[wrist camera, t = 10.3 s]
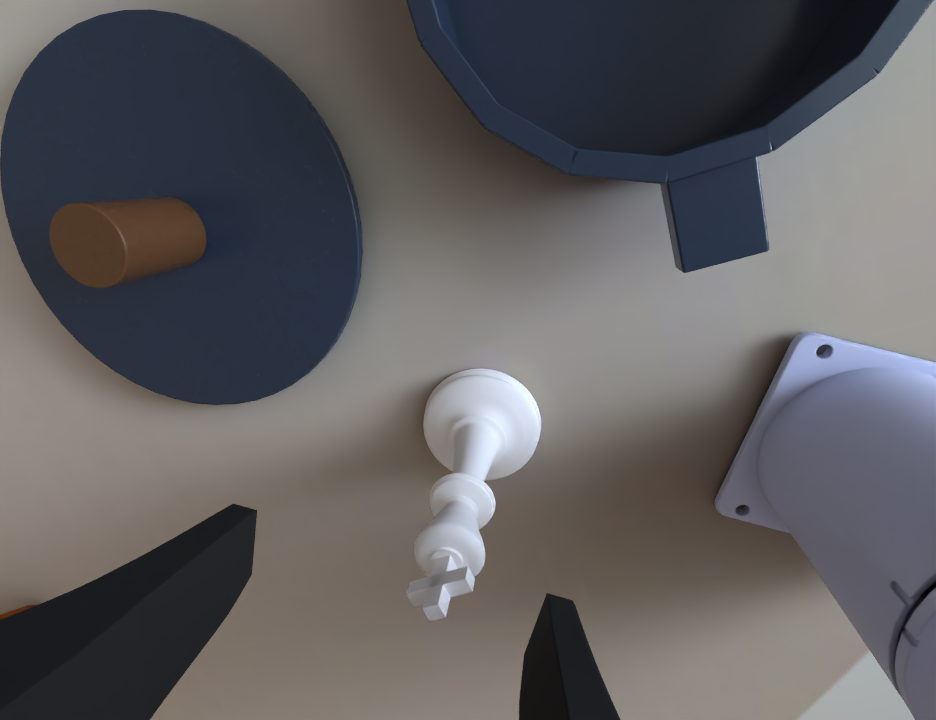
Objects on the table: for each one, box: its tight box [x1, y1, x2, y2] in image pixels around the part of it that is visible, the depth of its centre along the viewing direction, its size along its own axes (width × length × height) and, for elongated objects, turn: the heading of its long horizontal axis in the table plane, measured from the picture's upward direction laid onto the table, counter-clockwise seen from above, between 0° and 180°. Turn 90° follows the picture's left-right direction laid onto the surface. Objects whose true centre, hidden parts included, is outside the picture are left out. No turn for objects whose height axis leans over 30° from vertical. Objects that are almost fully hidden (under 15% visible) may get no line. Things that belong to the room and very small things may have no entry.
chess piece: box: [406, 369, 541, 622], centre depth 17 cm, size 5×5×10 cm
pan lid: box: [0, 10, 363, 405], centre depth 18 cm, size 14×14×5 cm
